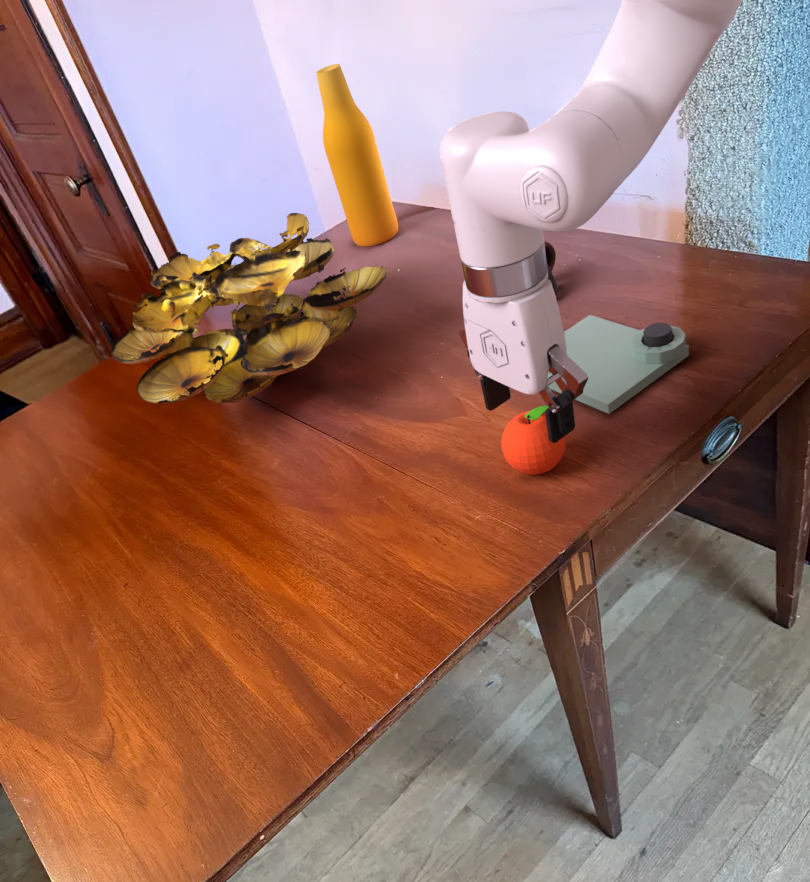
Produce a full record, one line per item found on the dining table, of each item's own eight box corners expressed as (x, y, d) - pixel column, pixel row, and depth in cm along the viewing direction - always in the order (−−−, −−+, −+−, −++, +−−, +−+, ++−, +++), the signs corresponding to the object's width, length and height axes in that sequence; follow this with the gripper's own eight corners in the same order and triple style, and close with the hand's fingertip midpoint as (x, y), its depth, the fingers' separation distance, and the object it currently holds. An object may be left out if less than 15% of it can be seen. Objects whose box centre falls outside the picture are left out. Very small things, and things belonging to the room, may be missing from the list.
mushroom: (340, 273, 136) (307, 176, 125) (447, 368, 103) (416, 247, 91) (131, 368, 131) (76, 275, 119) (173, 500, 98) (103, 389, 86)
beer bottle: (347, 250, 143) (294, 83, 124) (361, 229, 149) (312, 66, 130) (392, 243, 140) (344, 70, 120) (404, 222, 146) (360, 54, 127)
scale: (695, 354, 91) (696, 332, 89) (612, 415, 86) (610, 394, 84) (593, 321, 102) (591, 301, 100) (515, 374, 98) (511, 354, 96)
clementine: (539, 435, 87) (530, 384, 82) (588, 453, 83) (581, 400, 78) (494, 475, 84) (482, 424, 80) (542, 495, 80) (532, 443, 75)
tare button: (677, 338, 89) (677, 326, 88) (659, 350, 88) (659, 339, 87) (656, 331, 92) (655, 320, 91) (638, 344, 91) (637, 332, 90)
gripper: (416, 266, 73) (452, 409, 84) (542, 310, 61) (563, 469, 73) (474, 233, 75) (501, 377, 87) (606, 268, 63) (616, 429, 75)
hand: (529, 419), depth 80 cm, fingers open, 9 cm apart
